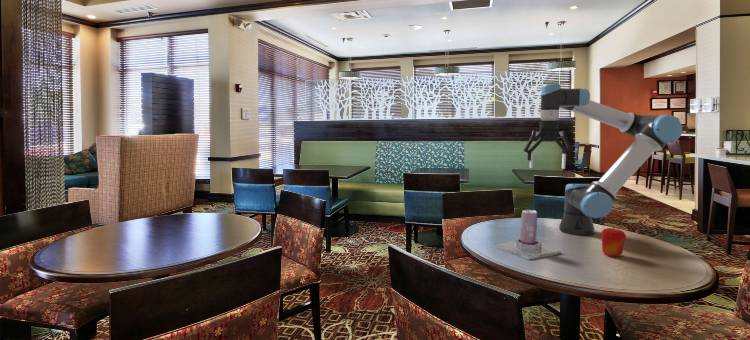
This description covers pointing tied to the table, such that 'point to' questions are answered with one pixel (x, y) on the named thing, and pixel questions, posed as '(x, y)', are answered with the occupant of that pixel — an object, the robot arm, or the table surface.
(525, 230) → the beverage can
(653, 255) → the table surface
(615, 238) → the red bell pepper
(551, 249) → the duct flange
